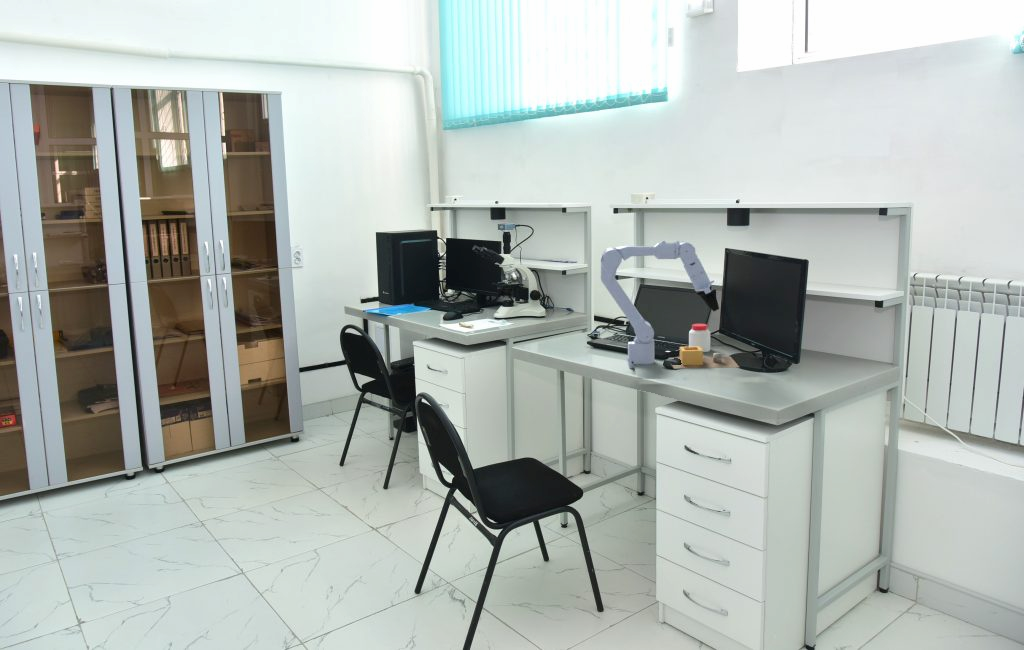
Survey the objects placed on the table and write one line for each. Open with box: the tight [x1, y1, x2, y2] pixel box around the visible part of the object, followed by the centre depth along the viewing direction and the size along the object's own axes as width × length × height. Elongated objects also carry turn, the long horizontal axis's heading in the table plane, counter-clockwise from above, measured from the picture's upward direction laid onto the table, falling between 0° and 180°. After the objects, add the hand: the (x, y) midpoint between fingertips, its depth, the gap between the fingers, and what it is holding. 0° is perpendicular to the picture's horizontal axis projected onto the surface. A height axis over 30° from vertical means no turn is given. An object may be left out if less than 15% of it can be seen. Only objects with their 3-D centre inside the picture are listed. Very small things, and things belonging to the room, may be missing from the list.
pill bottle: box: [688, 323, 711, 353], centre depth 284 cm, size 8×8×11 cm
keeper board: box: [668, 352, 740, 370], centre depth 265 cm, size 22×16×4 cm
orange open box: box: [679, 346, 704, 365], centre depth 265 cm, size 7×7×5 cm
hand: (714, 308), depth 264 cm, fingers open, 7 cm apart
